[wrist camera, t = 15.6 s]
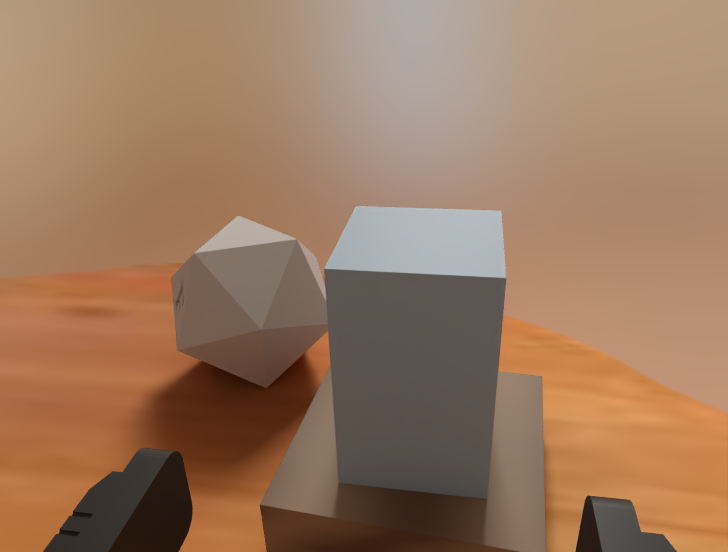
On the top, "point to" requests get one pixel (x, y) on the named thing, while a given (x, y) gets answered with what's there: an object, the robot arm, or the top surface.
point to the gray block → (416, 347)
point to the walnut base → (412, 508)
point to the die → (249, 302)
